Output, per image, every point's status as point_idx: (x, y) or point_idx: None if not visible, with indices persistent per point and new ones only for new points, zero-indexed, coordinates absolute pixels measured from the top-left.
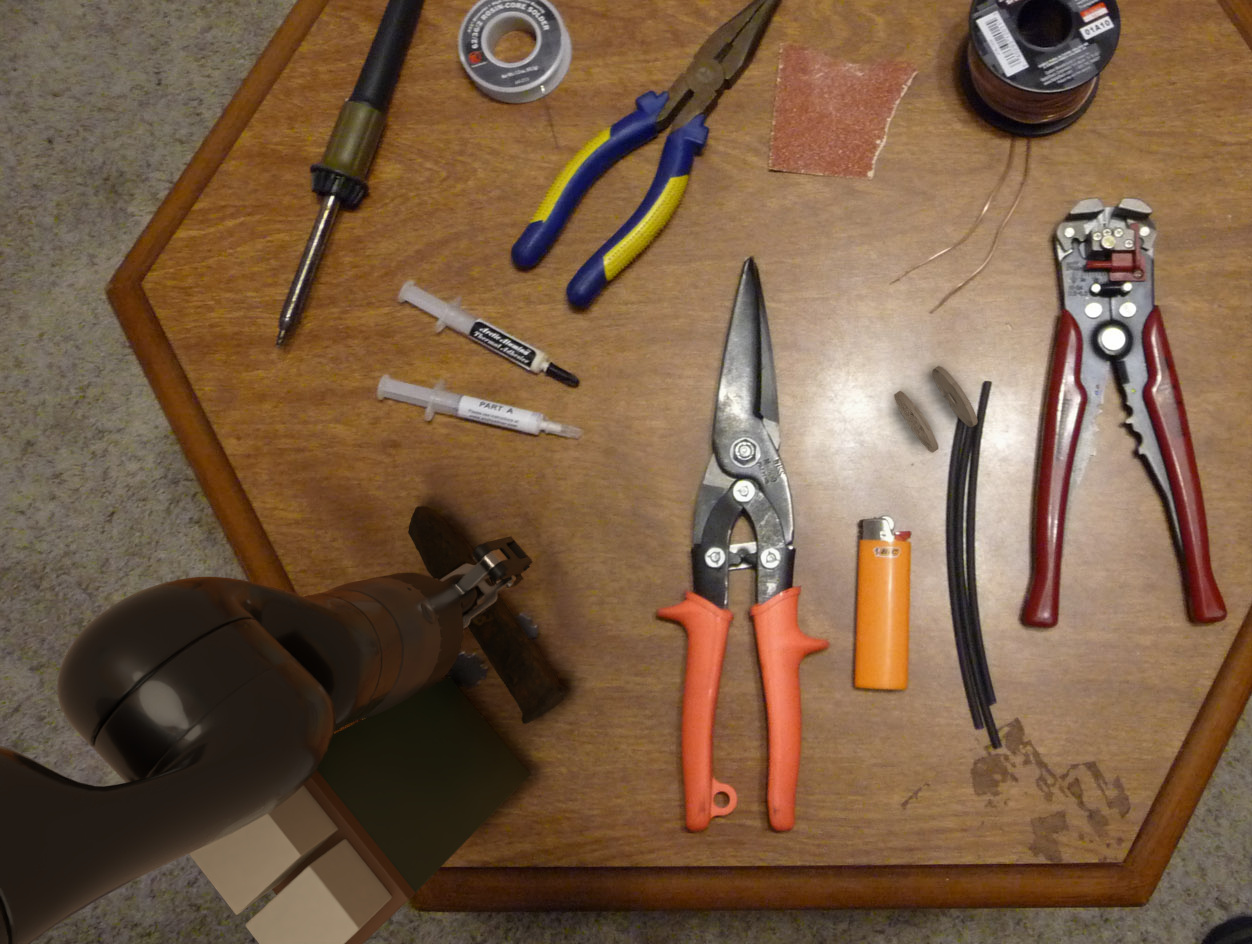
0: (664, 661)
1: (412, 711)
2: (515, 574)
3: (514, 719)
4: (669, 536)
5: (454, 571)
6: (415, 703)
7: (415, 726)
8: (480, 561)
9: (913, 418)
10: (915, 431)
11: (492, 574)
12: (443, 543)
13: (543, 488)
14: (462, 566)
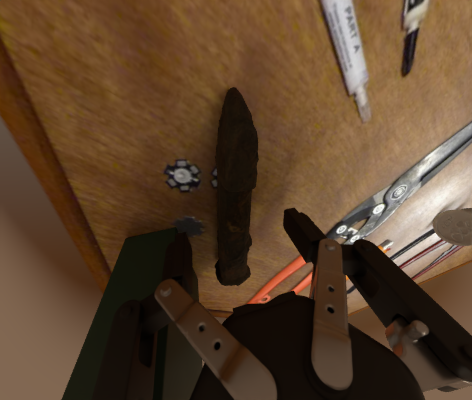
0: (286, 258)
1: (173, 333)
2: (356, 287)
3: (203, 258)
4: (337, 212)
5: (345, 297)
6: None
7: (177, 360)
8: (468, 383)
9: (463, 228)
10: (437, 221)
11: (447, 388)
12: (254, 162)
13: (316, 143)
14: (345, 282)
